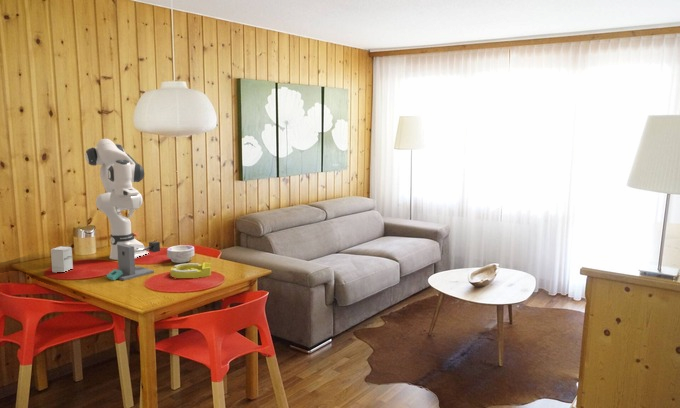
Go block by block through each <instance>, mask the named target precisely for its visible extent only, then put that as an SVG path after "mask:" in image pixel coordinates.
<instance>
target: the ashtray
mask: <svg viewBox="0 0 680 408" xmlns="http://www.w3.org/2000/svg"><path fill="white" fill-rule="evenodd" d="M169 273H170V277H171V276H172V277H176V278H193V279H200V278H199V277H201V278H207V277H210V276H211V275H212V263H211V262H202V264H201V263H197V262H196V263H194V262H193V263H191V262H190V263H188V262H185V263H178V264H175V265H173V266H172V267H171V268H170V271H169ZM172 277H171V278H172ZM176 278H175V279H176Z"/></svg>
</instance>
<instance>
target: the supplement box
mask: <svg viewBox="0 0 680 408" xmlns="http://www.w3.org/2000/svg"><path fill="white" fill-rule="evenodd" d="M50 255H51V256H50V257H51V258H50V259H51V271H52V273H57V272H65V271H67V272H69V271H68V270H70V269H73V270H74V264H73V248H72V246H61V245H60V246H57V247H54V248H52V249H50ZM70 271H71V270H70ZM65 273H66V272H65Z"/></svg>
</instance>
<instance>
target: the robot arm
mask: <svg viewBox="0 0 680 408" xmlns="http://www.w3.org/2000/svg"><path fill="white" fill-rule="evenodd" d="M85 161H86V162H87V163H88V164H89V165H90V166H100V168H99V176H100V180H101V184H102V185H103V187H104V189H103V190H104V191H105V192H104V193H103V192H102V193H100V194H98V195H97V196H96V199H95V206H96V208H97V209H98V210H99V211H100V212H102V213H103V214H104V215H105V216H106V218H107V219H108V221H109V225H110V243H111V244H110V245H111V246H110V254H109V260H116V261H118V250H117V245H119V244H126V245H130V246H134V250H135V249H140V248H144V247H145V245H144V243H143V242H141V241H139V240H137V239H136V237H138V233H136V232H134V233H133V232H132V222H131V220H130V218H133V215H134V211H135V210H138V209H140V207H141V206H142V205H143V202H144V200H143V199H144V198H143V195H142V194H141V192H139V190H137V189H136V188H135V187H134V186H133V183H140V182H141V181H142V180H143V179H144V177H145V169H144V167H143V166H142V165H141V164H140V163H138V162H137V161H135V160H134V158H133V157H132V156H131V155H130V154H129V153H127V152H125V148H124V147H123V145H122V144H119V143H115V142H113V140H111V139H110V138H102V139H100V140H98V142H97V144H96V147H90V148H87V149H86V151H85ZM122 211H129V212H128V213H127V216H124V215H122ZM148 253H149V254H150V251H149V250H144V251H140V252H135V253H134V256H135V259H138V258H140V257H139V256H141V257H144V256H146V255H145V254H147V255H149V254H148ZM143 255H144V256H143ZM137 257H138V258H137Z"/></svg>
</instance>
